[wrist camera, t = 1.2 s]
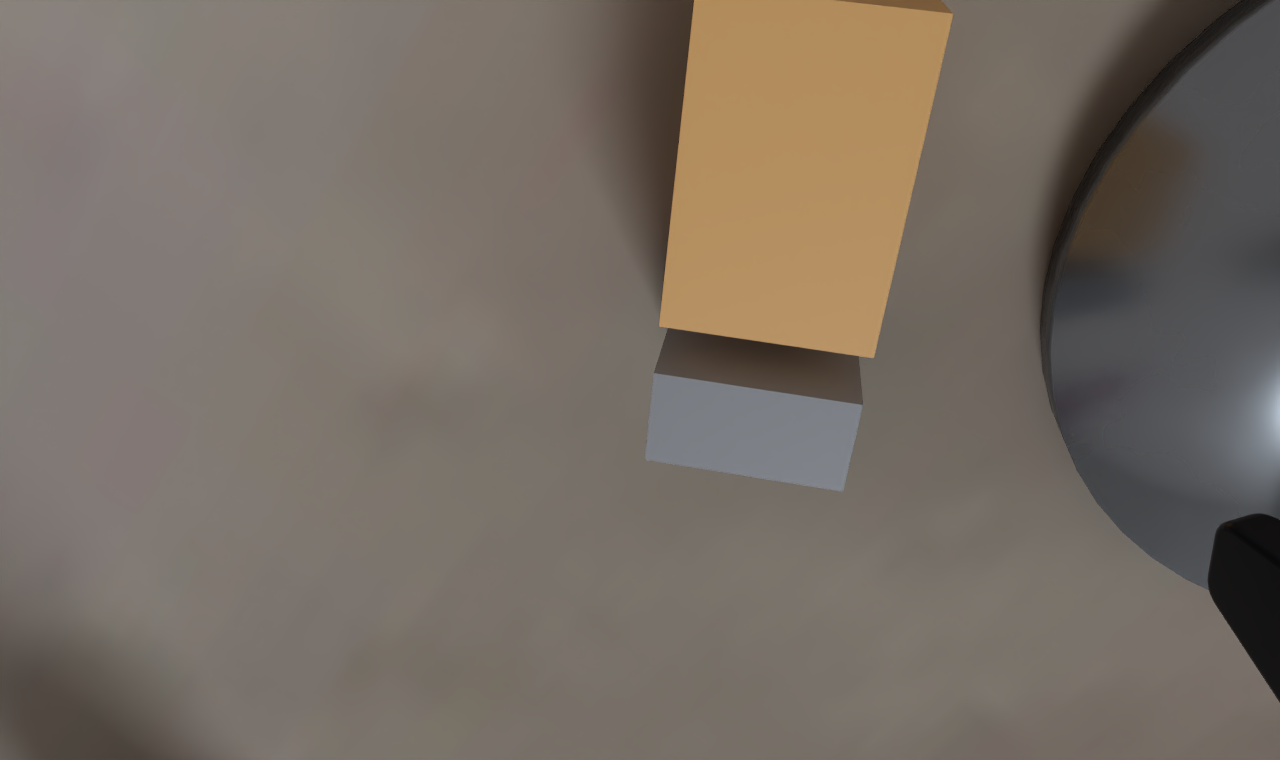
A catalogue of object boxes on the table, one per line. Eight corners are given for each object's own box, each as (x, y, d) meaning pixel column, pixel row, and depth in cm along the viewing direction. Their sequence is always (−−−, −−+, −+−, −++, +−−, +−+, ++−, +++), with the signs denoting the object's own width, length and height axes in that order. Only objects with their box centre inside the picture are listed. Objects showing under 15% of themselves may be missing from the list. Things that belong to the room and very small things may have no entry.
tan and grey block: (922, -21, 19) (953, 13, 15) (837, 375, 24) (843, 491, 19) (721, -43, 20) (695, -16, 15) (675, 351, 24) (644, 459, 20)
